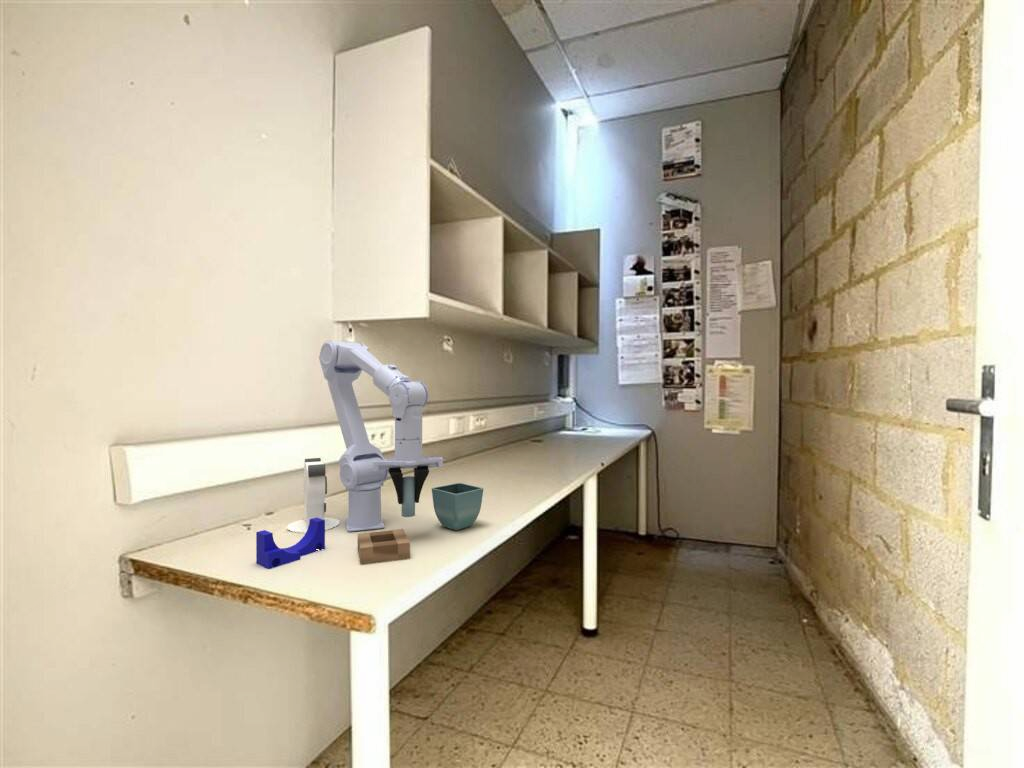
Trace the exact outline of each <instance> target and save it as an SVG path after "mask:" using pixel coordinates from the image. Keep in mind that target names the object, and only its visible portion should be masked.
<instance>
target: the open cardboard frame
mask: <svg viewBox="0 0 1024 768" xmlns="http://www.w3.org/2000/svg"><path fill="white" fill-rule="evenodd" d="M357 554H358V558H359V559H360V560H359V563H360V564H362V565H367V564H368V565H369V563H370V564H376V562H378V563H385V562H392V560H393V561H400V560H399V559H401V560H407V559H406V558H409V559H411V542H410V540H409V537H408V535H407V533H406V531H405V529H404V528H400V529H391V530H382V531H381V530H379V531H372V532H371V531H370V532H363V533H361V532H360V533H357Z"/></svg>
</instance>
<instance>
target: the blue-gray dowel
mask: <svg viewBox="0 0 1024 768" xmlns="http://www.w3.org/2000/svg"><path fill="white" fill-rule="evenodd" d="M402 497H403V504H401V517H403V518H411V517H414V516H416V503H415V477H414V475H413V476H410V475H409V476H403V479H402Z"/></svg>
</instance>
